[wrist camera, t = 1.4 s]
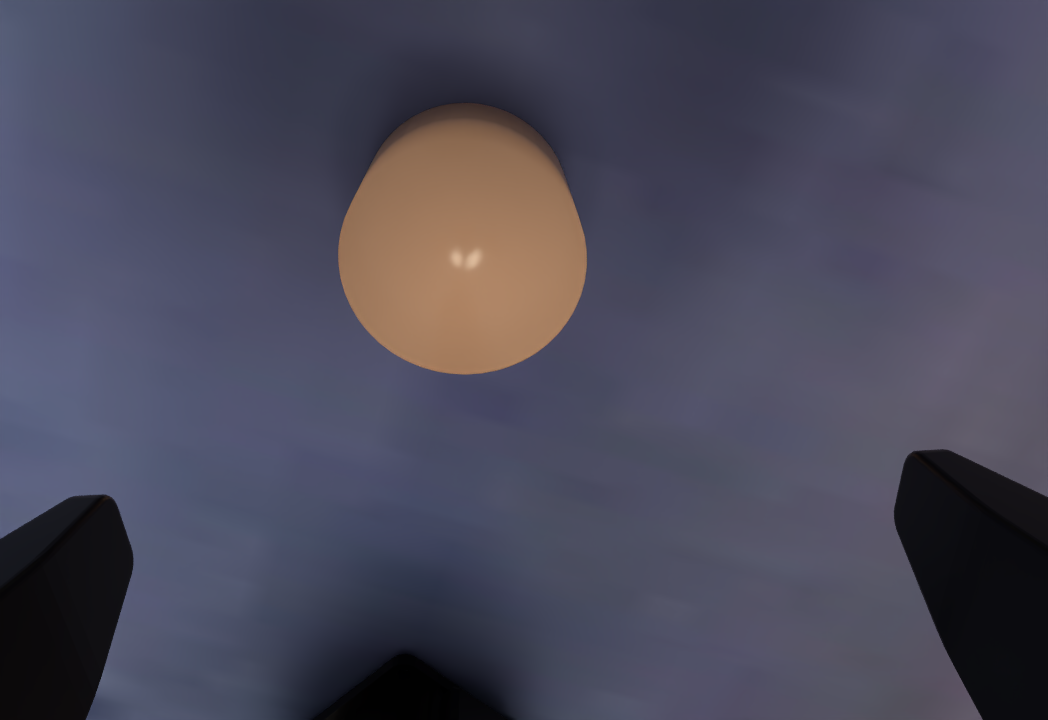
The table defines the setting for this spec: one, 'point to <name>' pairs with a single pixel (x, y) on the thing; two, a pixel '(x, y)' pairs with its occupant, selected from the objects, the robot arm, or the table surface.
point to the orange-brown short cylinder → (463, 242)
